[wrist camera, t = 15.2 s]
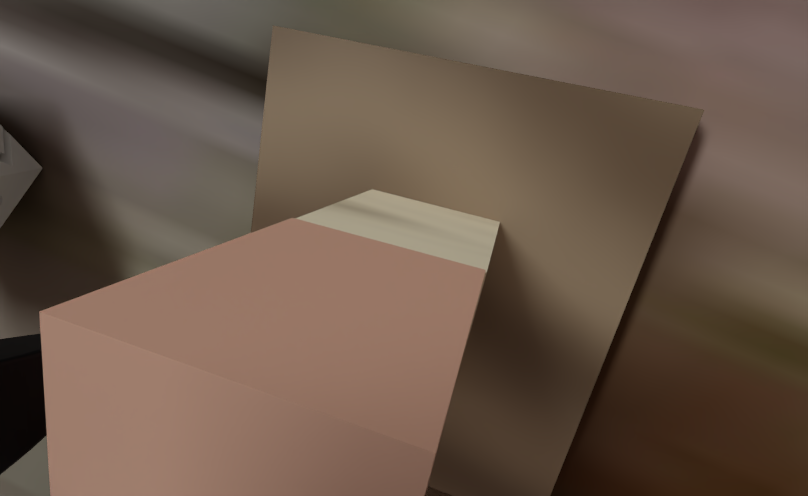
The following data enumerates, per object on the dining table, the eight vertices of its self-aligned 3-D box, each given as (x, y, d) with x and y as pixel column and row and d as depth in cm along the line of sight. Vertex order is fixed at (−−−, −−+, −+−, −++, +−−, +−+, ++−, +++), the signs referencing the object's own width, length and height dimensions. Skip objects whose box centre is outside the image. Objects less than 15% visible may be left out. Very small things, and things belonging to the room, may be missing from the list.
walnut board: (536, 509, 16) (537, 528, 15) (244, 399, 18) (232, 410, 17) (692, 111, 12) (704, 109, 11) (286, 31, 14) (273, 25, 13)
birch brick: (452, 393, 15) (418, 514, 10) (341, 356, 15) (262, 453, 11) (500, 222, 13) (486, 273, 8) (372, 189, 14) (293, 219, 9)
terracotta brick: (420, 513, 10) (329, 850, 5) (263, 453, 11) (63, 700, 6) (486, 270, 8) (435, 453, 4) (292, 217, 9) (39, 311, 4)
